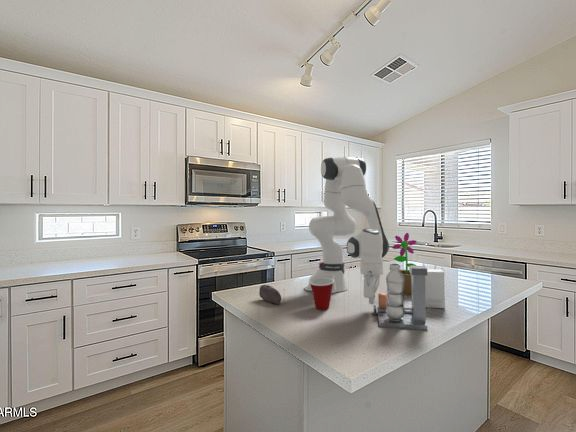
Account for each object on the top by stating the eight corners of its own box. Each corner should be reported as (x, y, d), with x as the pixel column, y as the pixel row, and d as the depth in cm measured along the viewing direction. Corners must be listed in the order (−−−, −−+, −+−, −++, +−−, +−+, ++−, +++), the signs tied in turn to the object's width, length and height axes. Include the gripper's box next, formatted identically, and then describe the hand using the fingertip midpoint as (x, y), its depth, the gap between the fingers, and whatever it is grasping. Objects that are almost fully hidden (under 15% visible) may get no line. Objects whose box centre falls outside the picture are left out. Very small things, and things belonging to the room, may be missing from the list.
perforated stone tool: (285, 305, 136) (285, 289, 136) (275, 307, 133) (275, 291, 133) (267, 297, 149) (267, 283, 148) (258, 299, 146) (258, 285, 145)
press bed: (379, 326, 109) (378, 268, 109) (377, 316, 120) (377, 263, 120) (429, 330, 105) (428, 270, 105) (423, 319, 116) (422, 264, 116)
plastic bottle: (382, 315, 115) (382, 263, 115) (400, 315, 116) (399, 262, 116) (390, 322, 109) (389, 266, 108) (408, 321, 109) (407, 265, 109)
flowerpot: (416, 288, 161) (416, 232, 160) (426, 296, 146) (426, 234, 146) (389, 288, 162) (388, 232, 162) (395, 296, 148) (395, 234, 147)
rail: (373, 315, 121) (373, 308, 121) (373, 311, 126) (373, 305, 126) (425, 318, 117) (425, 311, 117) (423, 314, 121) (422, 308, 121)
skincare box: (442, 304, 134) (442, 269, 133) (445, 309, 127) (445, 272, 127) (422, 302, 136) (422, 268, 136) (423, 307, 130) (423, 271, 130)
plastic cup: (304, 307, 132) (303, 280, 132) (321, 302, 139) (321, 276, 139) (322, 313, 124) (322, 284, 124) (339, 308, 131) (339, 280, 131)
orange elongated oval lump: (377, 311, 121) (377, 295, 121) (377, 309, 125) (377, 292, 124) (388, 312, 120) (388, 295, 120) (387, 309, 124) (387, 293, 123)
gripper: (376, 274, 112) (377, 312, 112) (382, 265, 131) (382, 297, 131) (359, 273, 115) (359, 310, 115) (367, 264, 134) (367, 296, 134)
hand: (371, 303), depth 123 cm, fingers closed
